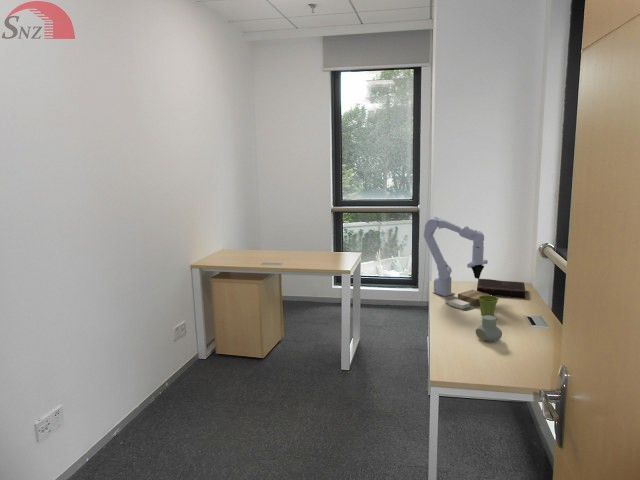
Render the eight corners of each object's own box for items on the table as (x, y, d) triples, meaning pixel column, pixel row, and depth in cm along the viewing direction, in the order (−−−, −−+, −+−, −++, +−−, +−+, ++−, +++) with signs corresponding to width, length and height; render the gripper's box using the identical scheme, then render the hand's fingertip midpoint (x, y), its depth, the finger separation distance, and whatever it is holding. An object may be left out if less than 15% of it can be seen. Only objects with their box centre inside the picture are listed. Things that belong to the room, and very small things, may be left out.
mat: (445, 303, 252) (445, 303, 252) (455, 300, 256) (455, 300, 256) (466, 310, 241) (466, 310, 241) (476, 307, 245) (476, 307, 245)
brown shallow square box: (457, 300, 256) (457, 293, 255) (472, 296, 262) (472, 289, 261) (475, 306, 246) (476, 299, 245) (490, 302, 252) (491, 294, 252)
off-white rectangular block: (456, 298, 253) (456, 302, 253) (448, 300, 249) (448, 304, 250) (470, 303, 245) (469, 306, 246) (462, 305, 242) (462, 309, 242)
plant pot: (500, 318, 230) (501, 301, 228) (480, 318, 230) (481, 301, 228) (493, 311, 239) (494, 294, 237) (475, 311, 239) (475, 295, 237)
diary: (525, 299, 257) (525, 291, 256) (476, 296, 265) (476, 287, 264) (523, 289, 274) (524, 280, 273) (478, 286, 282) (478, 278, 281)
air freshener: (472, 336, 209) (473, 314, 207) (487, 333, 212) (488, 312, 210) (489, 345, 199) (490, 323, 197) (505, 342, 202) (506, 320, 200)
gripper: (475, 257, 251) (474, 282, 253) (492, 253, 258) (491, 277, 261) (464, 255, 256) (463, 279, 259) (481, 251, 264) (480, 274, 267)
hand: (476, 278), depth 260 cm, fingers closed
